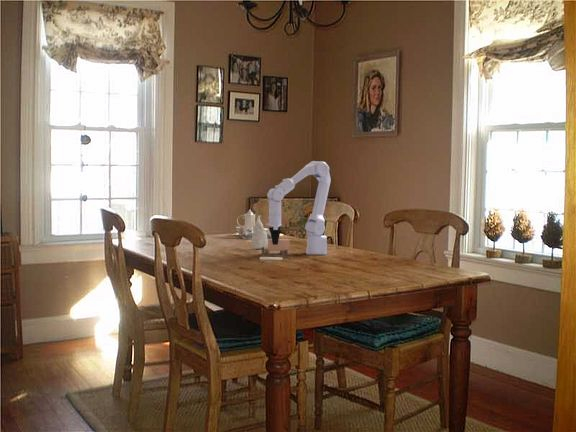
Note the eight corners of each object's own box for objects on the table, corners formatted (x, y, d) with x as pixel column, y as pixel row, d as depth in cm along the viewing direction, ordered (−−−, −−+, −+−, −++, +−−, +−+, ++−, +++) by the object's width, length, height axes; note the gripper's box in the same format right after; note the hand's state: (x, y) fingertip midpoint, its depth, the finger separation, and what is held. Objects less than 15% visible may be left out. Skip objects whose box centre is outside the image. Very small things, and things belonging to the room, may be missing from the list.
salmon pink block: (289, 249, 324) (289, 239, 324) (289, 250, 321) (289, 240, 320) (267, 249, 324) (268, 239, 323) (268, 250, 320) (268, 240, 320)
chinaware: (281, 240, 389) (282, 211, 389) (268, 241, 373) (269, 210, 373) (237, 237, 400) (239, 209, 400) (223, 237, 385) (224, 208, 385)
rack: (286, 254, 327) (286, 247, 327) (287, 257, 318) (288, 250, 318) (261, 254, 326) (261, 247, 326) (261, 257, 317) (261, 249, 317)
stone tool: (252, 250, 339) (252, 219, 338) (250, 249, 342) (250, 219, 341) (268, 249, 342) (269, 219, 341) (266, 248, 345) (267, 218, 344)
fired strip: (282, 260, 314) (282, 257, 314) (281, 261, 310) (281, 258, 310) (260, 259, 314) (260, 256, 314) (259, 260, 311) (259, 258, 311)
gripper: (265, 212, 327) (265, 241, 329) (267, 215, 313) (266, 245, 314) (280, 213, 328) (280, 241, 329) (282, 215, 314) (282, 245, 315)
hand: (274, 243), depth 322 cm, fingers open, 7 cm apart
